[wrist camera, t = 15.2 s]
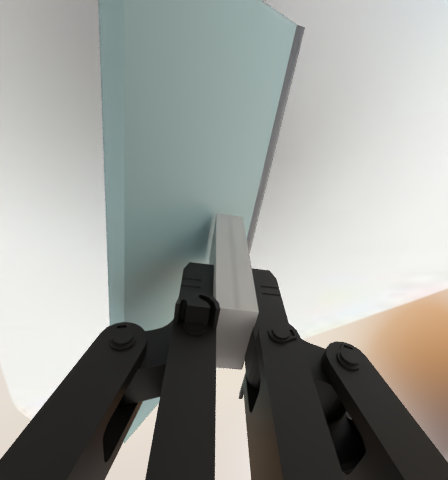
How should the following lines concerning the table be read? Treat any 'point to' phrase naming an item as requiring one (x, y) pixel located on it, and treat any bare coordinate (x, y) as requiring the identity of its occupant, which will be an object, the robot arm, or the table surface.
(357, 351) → the robot arm
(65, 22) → the table surface
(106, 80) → the cover
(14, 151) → the table surface
